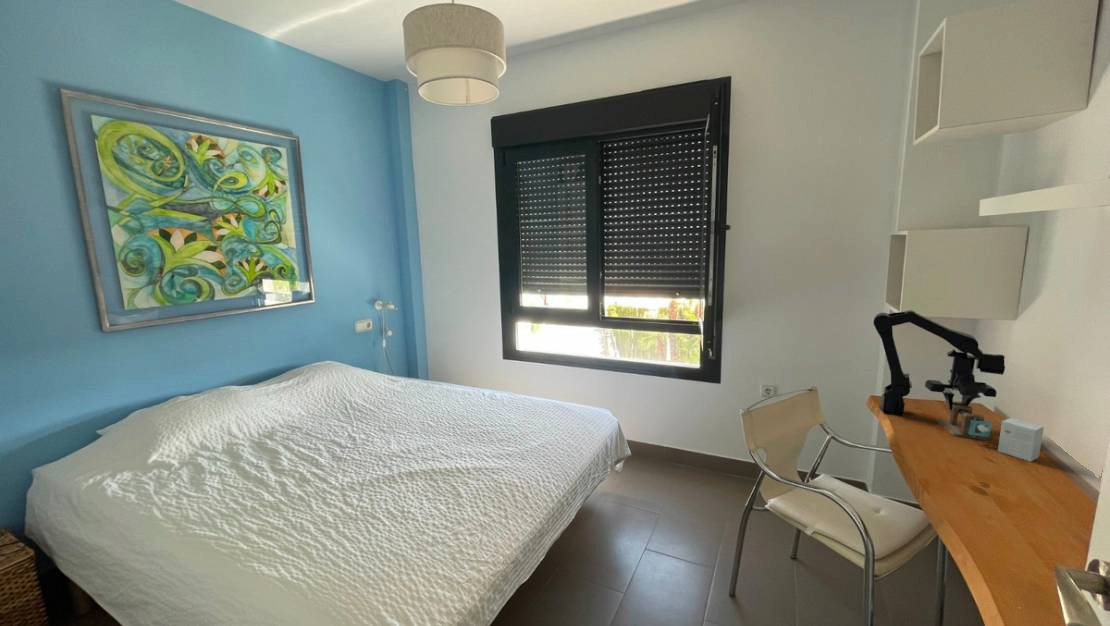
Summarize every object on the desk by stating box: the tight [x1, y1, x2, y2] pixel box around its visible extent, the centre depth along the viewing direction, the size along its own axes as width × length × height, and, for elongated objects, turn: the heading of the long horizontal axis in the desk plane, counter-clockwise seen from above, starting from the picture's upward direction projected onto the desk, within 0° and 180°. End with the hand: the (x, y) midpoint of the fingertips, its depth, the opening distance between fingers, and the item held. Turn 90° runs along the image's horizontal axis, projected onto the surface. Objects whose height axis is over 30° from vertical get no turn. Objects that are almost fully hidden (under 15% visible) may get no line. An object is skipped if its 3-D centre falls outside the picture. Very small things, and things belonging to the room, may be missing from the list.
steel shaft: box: [949, 401, 989, 433], centre depth 155 cm, size 3×21×4 cm, turn 159°
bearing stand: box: [937, 404, 991, 441], centre depth 158 cm, size 10×13×8 cm
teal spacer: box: [969, 420, 993, 438], centre depth 148 cm, size 5×1×5 cm, turn 69°
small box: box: [997, 417, 1045, 463], centre depth 141 cm, size 8×6×10 cm
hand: (956, 410), depth 164 cm, fingers closed on steel shaft, 3 cm apart
